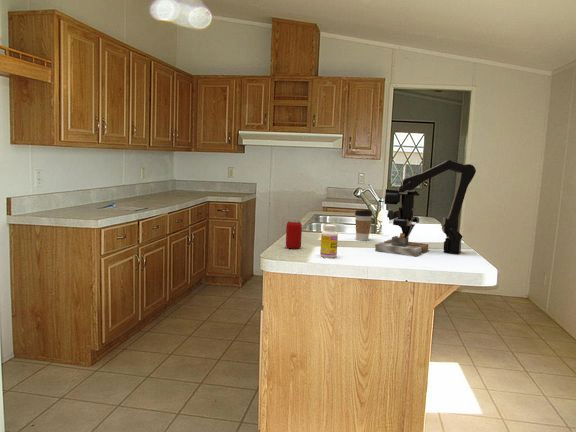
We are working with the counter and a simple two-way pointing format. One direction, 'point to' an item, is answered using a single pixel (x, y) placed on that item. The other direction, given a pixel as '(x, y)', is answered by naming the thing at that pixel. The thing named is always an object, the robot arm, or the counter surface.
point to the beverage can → (293, 234)
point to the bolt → (402, 235)
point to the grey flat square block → (401, 247)
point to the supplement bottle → (329, 241)
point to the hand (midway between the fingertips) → (405, 239)
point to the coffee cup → (363, 224)
